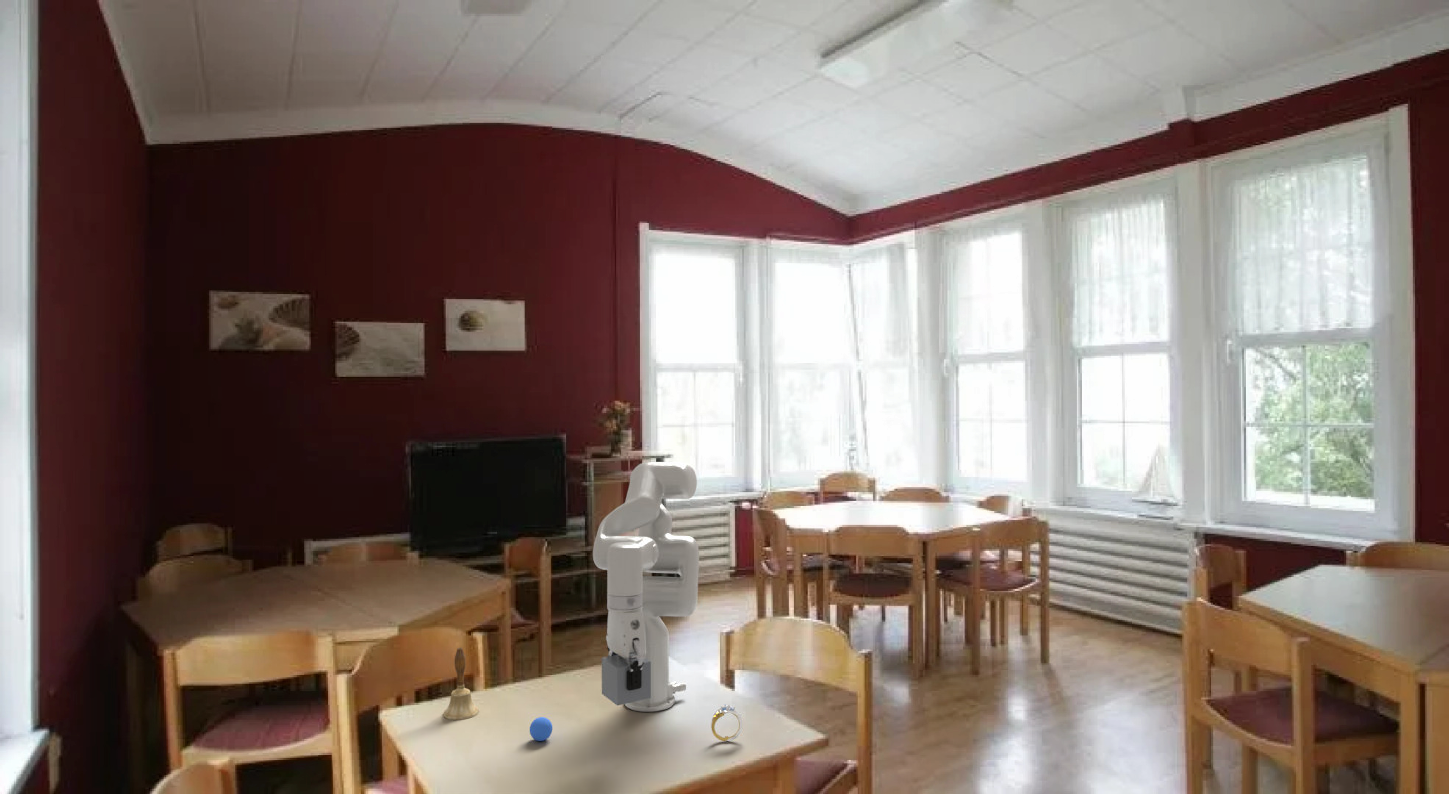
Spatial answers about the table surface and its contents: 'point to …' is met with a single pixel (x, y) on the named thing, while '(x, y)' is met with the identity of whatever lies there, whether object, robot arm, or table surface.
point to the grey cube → (623, 680)
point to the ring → (724, 711)
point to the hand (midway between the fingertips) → (624, 682)
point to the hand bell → (460, 694)
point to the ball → (541, 729)
